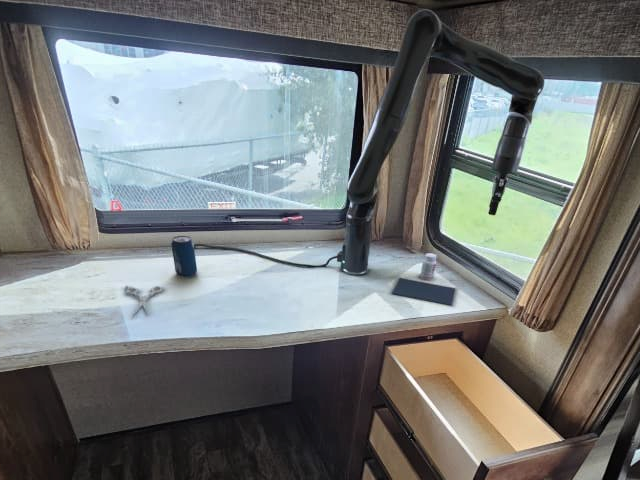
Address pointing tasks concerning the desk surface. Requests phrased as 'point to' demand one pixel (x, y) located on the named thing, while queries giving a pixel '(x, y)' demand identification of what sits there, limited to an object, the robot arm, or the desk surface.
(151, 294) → the scissors
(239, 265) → the desk surface
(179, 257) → the soda can
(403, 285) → the mat
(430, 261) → the pill bottle
